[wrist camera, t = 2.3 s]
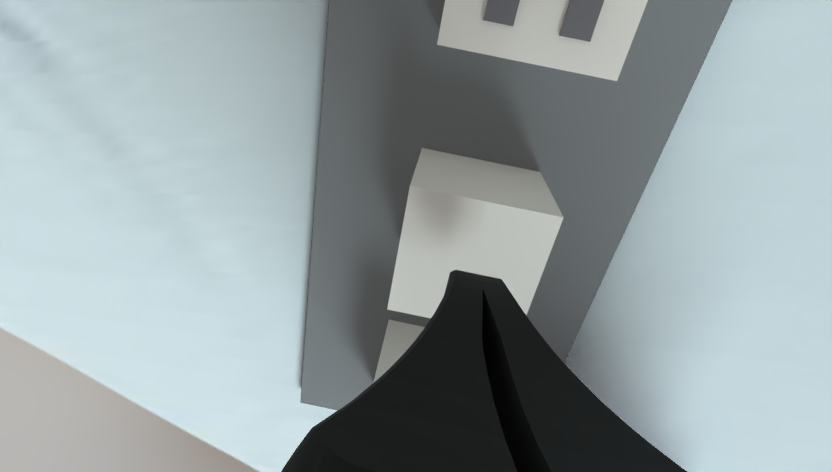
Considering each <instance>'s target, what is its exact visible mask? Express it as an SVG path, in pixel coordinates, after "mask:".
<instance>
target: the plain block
mask: <svg viewBox="0 0 832 472" xmlns="http://www.w3.org/2000/svg"><path fill="white" fill-rule="evenodd" d="M563 218H564V217H563V215H562V213H561V211H560V209H559V207H558V205H557V203H556V202H555V200H554V198H553V196H552V194H551V192H550V190H549V188H548V186H547V184H546V182H545V180H544V178H543V176H542V174H541V172H538V171H533V170H528V169H523V168H518V167H513V166H508V165H503V164H499V163H494V162H489V161H484V160H479V159H474V158H469V157H464V156H459V155H455V154H450V153H445V152H440V151H435V150H430V149H425V148H422V149H421V153H420V156H419V159H418V162H417V165H416V168H415V171H414V175H413V178H412V181H411V184H410V188H409V193H408V199H407V204H406V210H405V215H404V221H403V226H402V231H401V237H400V242H399V248H398V253H397V259H396V264H395V270H394V275H393V281H392V286H391V291H390V297H389V302H388V308H387V309H388V310H393V311H397V312H402V313H407V314H412V315H417V316H422V317H426V318H432V316H433V315H434V313H435V311H436V310H437V308H438V306H439V304H440V302H441V300H442V299H443V297H444V294H445V290H446V286H447V282H448V278H449V274H450V272H452V271H454V270H460V271H465V272H470V273H475V274H479V275H484V276H489V277H494V278H499V279H502V280H503V282H504V283H505V285H506V286H507V288H508V289H509V291H510V292H511V294H512V295H513V297H514V298H515V300H516V301H517V303H518V304H519V306H520V307H521V309H522V310H523V312H524V313H525V314H526V315H527V312H528V310H529V307H530V305H531V302H532V299H533V297H534V294H535V291H536V289H537V286H538V284H539V281H540V278H541V276H542V273H543V271H544V268H545V265H546V263H547V260H548V257H549V255H550V252H551V250H552V247H553V244H554V242H555V239H556V236H557V234H558V231H559V229H560V226H561V223H562V221H563Z"/></svg>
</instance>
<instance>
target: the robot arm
mask: <svg viewBox="0 0 832 472" xmlns="http://www.w3.org/2000/svg"><path fill="white" fill-rule="evenodd" d="M281 472H687V471H685V470H684V469H682V468H681V467H680V466H679V465H677V464H676V463H675V462H673V461H672V460H671V459H669V458H668V457H667V456H665V455H664V454H663V453H662V452H660V451H659V450H658V449H656V448H655V447H654V446H652V445H651V444H650V443H649V442H647V441H646V440H645V439H644V438H643V437H641V436H640V435H639V434H638V433H636V432H635V431H634V430H633V429H632V428H630V427H629V426H628V425H627V424H626V423H625V422H624V421H622V420H621V419H620V418H619V417H618V416H617V415H616V414H615V413H613V412H612V411H611V410H610V409H609V408H608V407H607V406H605V405H604V404H603V403H602V402H601V401H600V400H599V399H598V398H597V397H596V396H595V395H594V394H593V393H592V392H591V391H590V390H589V389H588V388H587V387H586V386H585V385H584V384H583V383H582V382H581V381H580V380H579V379H578V378H577V377H576V376H575V375H574V374H573V373H572V372H571V371H570V369H569V368H568V367H567V366H566V365H565V364H564V363H563V362H562V361H561V359H560V358H559V357H558V356H557V355H556V353H555V352H554V351H553V350H552V349H551V347H550V346H549V345H548V344H547V342H546V341H545V340H544V339H543V337H542V336H541V335H540V333H539V332H538V331H537V330H536V328H535V327H534V326H533V324H532V323H531V321H530V320H529V319H528V317H527V316H526V314H525V313H524V312H523V310H522V309H521V307H520V306H519V304H518V303H517V301H516V300H515V298H514V297H513V295H512V294H511V292H510V291H509V289H508V288H507V286H506V285H505V283H504V282H503V280H502V279H499V278H494V277H489V276H484V275H479V274H475V273H470V272H465V271H460V270H454V271H452V272H450V274H449V278H448V282H447V286H446V290H445V294H444V297H443V299H442V300H441V302H440V304H439V306H438V308H437V310H436V311H435V313H434V315H433V316H432V318H431V319H430V321H429V322H428V323H427V325H426V326H425V328H424V329H423V331H422V332H421V333H420V335H419V336H418V337H417V339H416V340H415V341H414V342H413V344H412V345H411V346H410V347H409V348H408V349H407V351H406V352H405V353H404V354H403V355H402V356H401V357H400V358H399V359H398V360H397V361H396V362H395V363H394V364H393V365H392V366H391V367H390V368H389V369H388V370H387V371H386V372H385V373H384V374H383V375H382V376H381V377H380V378H379V379H378V380H376V381H375V382H374V383H373V384H372V385H370V386H369V387H368V388H367V389H366V390H364V391H363V392H362V393H361V394H359V395H358V396H357V397H356V398H355V399H353V400H352V401H351V402H349V403H348V404H347V405H345V406H344V407H342V408H341V409H339V410H338V411H336V412H335V413H334V414H332V415H331V416H329V417H328V418H326V419H325V420H323V421H322V422H320V423H319V424H317V425H316V426H314V427H313V428H312V429H311V430H310V431H309V433H308V434H307V435H306V437H305V438H304V439H303V441H302V442H301V443H300V445H299V446H298V448H297V449H296V450H295V452H294V453H293V455H292V456H291V458H290V459H289V461H288V462H287V464H286V465H285V467H284V468H283V470H282V471H281Z"/></svg>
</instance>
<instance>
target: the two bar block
mask: <svg viewBox="0 0 832 472" xmlns="http://www.w3.org/2000/svg"><path fill="white" fill-rule="evenodd" d="M647 1H648V0H445V4H444V9H443V15H442V20H441V25H440V31H439V36H438V42H437V45H441V46H446V47H451V48H456V49H461V50H466V51H471V52H476V53H480V54H485V55H490V56H495V57H500V58H505V59H510V60H515V61H520V62H525V63H530V64H535V65H539V66H544V67H549V68H554V69H559V70H564V71H569V72H574V73H579V74H584V75H589V76H594V77H599V78H603V79H608V80H613V81H617V80H618V77H619V75H620V72H621V69H622V67H623V64H624V62H625V59H626V56H627V54H628V51H629V48H630V46H631V43H632V41H633V38H634V35H635V33H636V30H637V28H638V25H639V22H640V20H641V17H642V15H643V12H644V9H645V7H646V4H647Z"/></svg>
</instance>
